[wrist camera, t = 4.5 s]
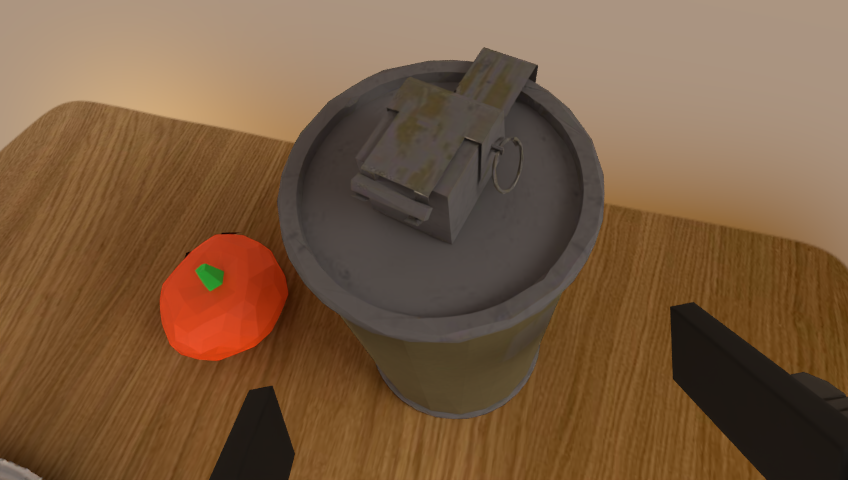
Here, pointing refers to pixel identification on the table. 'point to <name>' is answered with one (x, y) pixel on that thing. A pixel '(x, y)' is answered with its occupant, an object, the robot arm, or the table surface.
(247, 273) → the pumpkin
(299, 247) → the canister
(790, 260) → the table surface
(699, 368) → the robot arm
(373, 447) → the table surface
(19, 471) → the food plate
